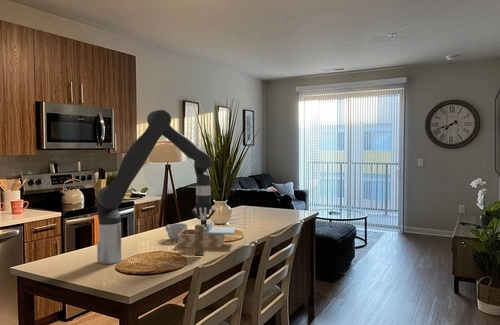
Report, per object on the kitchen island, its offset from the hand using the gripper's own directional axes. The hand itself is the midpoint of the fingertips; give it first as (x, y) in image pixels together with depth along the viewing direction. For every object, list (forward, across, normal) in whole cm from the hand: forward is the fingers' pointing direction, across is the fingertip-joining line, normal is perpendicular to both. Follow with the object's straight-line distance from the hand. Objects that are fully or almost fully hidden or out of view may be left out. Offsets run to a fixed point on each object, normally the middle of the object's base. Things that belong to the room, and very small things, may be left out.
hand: (203, 227), depth 193 cm
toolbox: (+9, +1, 0) cm, 9 cm away
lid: (+2, -9, 0) cm, 9 cm away
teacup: (+10, +18, -13) cm, 24 cm away
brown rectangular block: (+9, -1, +17) cm, 20 cm away
